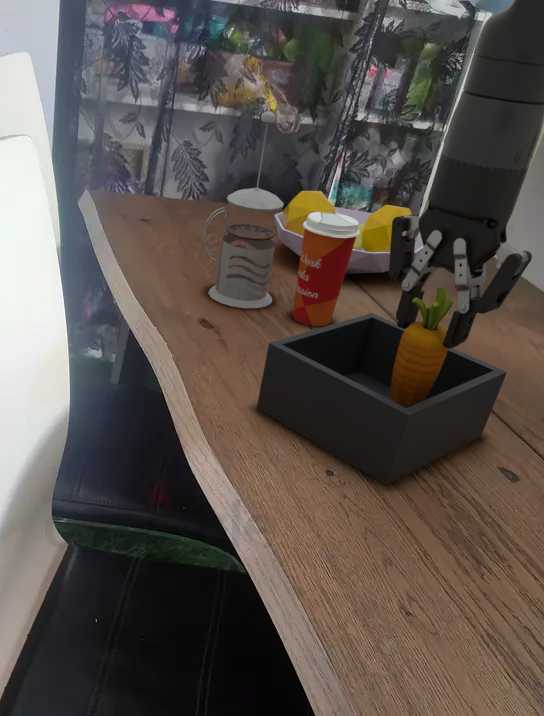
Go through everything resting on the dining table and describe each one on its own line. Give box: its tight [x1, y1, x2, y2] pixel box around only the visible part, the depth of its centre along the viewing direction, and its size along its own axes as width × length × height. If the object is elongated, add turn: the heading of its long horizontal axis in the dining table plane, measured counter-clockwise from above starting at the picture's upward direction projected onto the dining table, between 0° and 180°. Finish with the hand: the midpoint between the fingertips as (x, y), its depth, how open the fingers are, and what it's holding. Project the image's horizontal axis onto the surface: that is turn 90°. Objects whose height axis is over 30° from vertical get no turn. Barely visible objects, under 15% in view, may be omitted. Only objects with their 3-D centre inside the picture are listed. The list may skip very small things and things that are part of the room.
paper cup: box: [292, 212, 360, 327], centre depth 103 cm, size 8×8×14 cm
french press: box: [202, 110, 284, 309], centre depth 104 cm, size 10×12×25 cm
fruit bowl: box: [274, 190, 424, 275], centre depth 126 cm, size 28×27×11 cm
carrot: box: [390, 286, 454, 408], centre depth 77 cm, size 5×5×15 cm
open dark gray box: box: [256, 312, 508, 486], centre depth 81 cm, size 18×18×8 cm
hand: (427, 335), depth 75 cm, fingers closed on carrot, 5 cm apart
